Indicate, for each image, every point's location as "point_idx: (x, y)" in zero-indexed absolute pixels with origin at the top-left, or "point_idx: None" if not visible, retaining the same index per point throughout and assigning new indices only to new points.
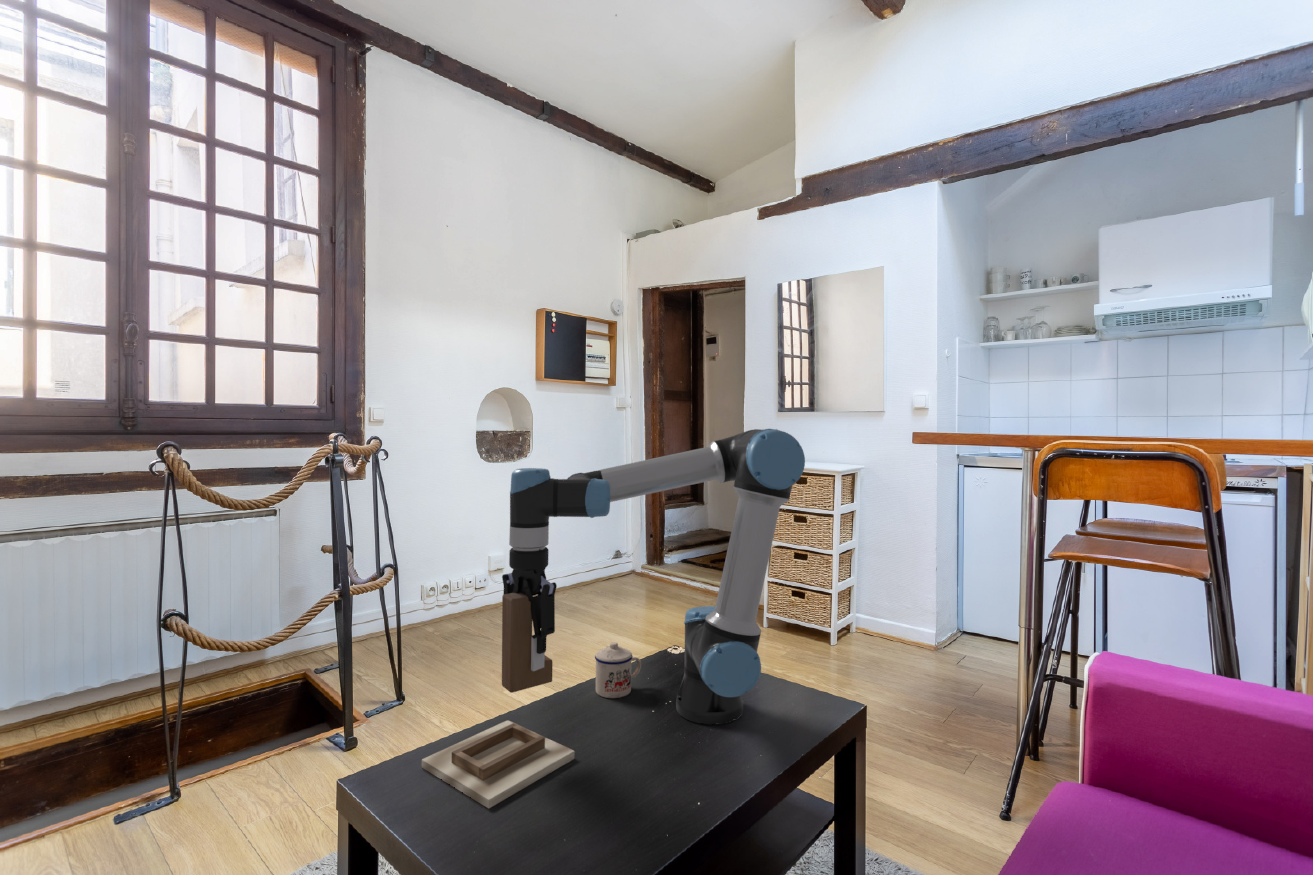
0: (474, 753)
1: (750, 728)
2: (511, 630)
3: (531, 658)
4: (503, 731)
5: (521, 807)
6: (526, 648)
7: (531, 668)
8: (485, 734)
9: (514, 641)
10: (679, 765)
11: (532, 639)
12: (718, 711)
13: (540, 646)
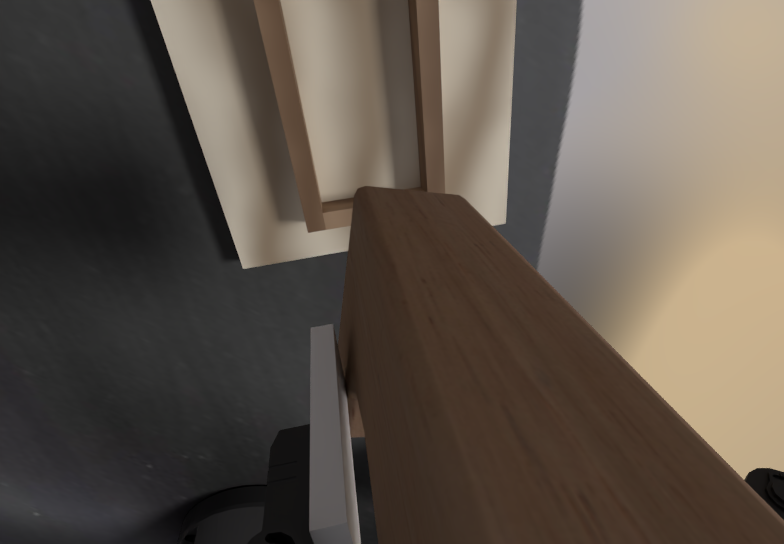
0: (412, 38)
1: (143, 539)
2: (448, 484)
3: (334, 373)
4: (426, 162)
5: (83, 7)
6: (369, 405)
7: (330, 332)
8: (490, 136)
9: (398, 386)
10: (79, 403)
11: (331, 502)
12: (192, 538)
13: (270, 483)
